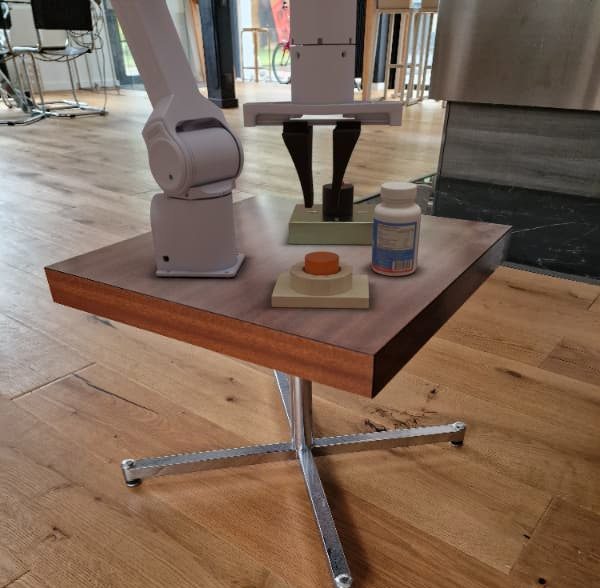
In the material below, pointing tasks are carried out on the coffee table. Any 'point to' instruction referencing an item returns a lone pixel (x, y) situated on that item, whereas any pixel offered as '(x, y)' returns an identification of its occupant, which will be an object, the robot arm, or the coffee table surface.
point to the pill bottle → (396, 230)
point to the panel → (331, 226)
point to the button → (321, 263)
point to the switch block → (321, 289)
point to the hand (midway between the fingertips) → (322, 206)
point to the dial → (344, 200)
